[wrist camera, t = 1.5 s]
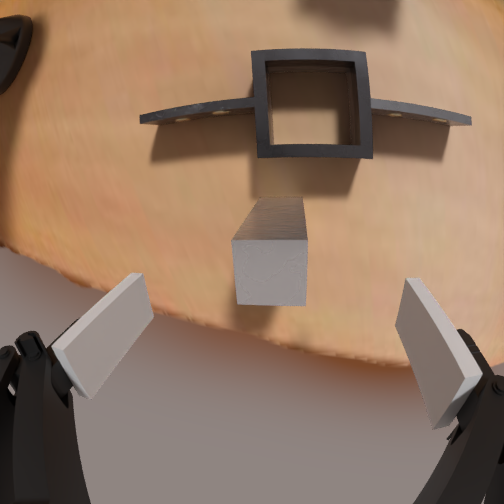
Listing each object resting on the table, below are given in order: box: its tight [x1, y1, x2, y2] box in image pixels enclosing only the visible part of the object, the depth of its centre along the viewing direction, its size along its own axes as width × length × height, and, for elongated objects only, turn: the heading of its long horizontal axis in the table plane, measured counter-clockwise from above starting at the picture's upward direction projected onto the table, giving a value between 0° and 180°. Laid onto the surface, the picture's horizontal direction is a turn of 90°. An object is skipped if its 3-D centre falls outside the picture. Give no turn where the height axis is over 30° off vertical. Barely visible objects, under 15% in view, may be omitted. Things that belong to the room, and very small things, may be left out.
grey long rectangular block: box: [231, 197, 308, 306], centre depth 21 cm, size 4×4×12 cm
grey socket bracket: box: [140, 49, 472, 159], centre depth 20 cm, size 9×29×4 cm, turn 93°
